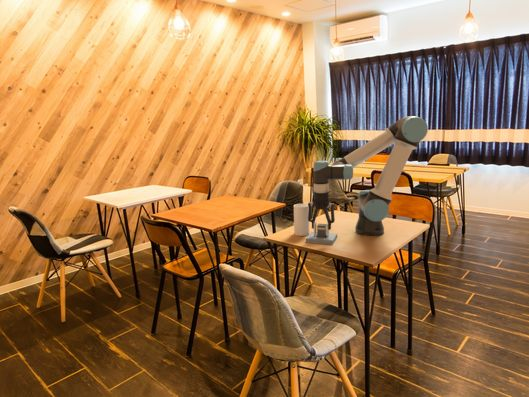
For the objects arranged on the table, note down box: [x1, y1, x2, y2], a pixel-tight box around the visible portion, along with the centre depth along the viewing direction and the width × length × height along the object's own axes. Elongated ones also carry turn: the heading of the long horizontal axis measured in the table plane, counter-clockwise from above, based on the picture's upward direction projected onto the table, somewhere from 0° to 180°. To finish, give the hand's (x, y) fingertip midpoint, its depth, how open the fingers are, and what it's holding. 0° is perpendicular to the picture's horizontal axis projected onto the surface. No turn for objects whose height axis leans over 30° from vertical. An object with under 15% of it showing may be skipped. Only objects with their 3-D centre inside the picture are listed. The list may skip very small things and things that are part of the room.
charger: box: [316, 223, 327, 238], centre depth 203 cm, size 4×4×8 cm
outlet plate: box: [305, 231, 338, 245], centre depth 204 cm, size 14×12×2 cm
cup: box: [293, 203, 310, 237], centre depth 214 cm, size 8×8×16 cm
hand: (321, 235), depth 203 cm, fingers open, 6 cm apart
